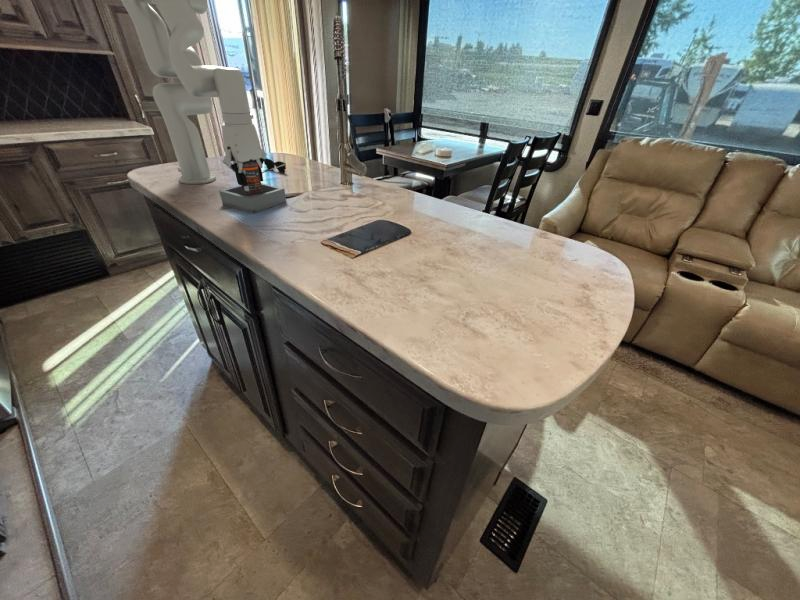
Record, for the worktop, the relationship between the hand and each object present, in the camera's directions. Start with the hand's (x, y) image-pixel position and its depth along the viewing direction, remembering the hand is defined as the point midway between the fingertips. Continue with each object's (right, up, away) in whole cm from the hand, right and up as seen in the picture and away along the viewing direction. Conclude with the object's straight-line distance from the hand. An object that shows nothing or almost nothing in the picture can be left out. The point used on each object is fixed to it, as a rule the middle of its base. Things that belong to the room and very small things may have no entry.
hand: (251, 182), depth 105 cm
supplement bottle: (0, -3, +2) cm, 3 cm away
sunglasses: (-11, +15, +34) cm, 38 cm away
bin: (0, -6, +4) cm, 7 cm away
